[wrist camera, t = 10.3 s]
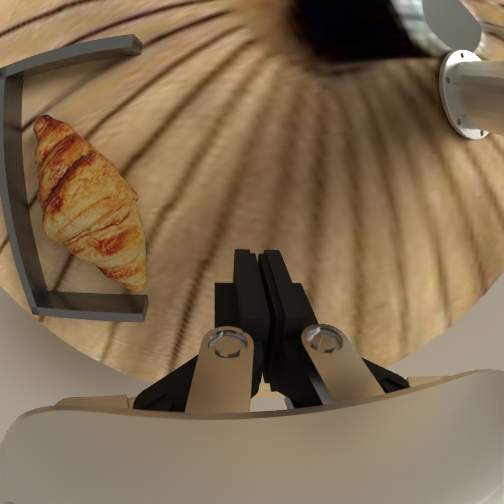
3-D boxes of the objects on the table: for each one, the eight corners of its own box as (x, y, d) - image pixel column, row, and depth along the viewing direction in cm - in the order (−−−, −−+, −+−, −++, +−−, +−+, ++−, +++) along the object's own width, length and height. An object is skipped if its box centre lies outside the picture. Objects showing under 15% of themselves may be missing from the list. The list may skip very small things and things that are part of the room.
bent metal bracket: (142, 43, 20) (133, 34, 17) (148, 303, 32) (143, 322, 29) (16, 70, 18) (-2, 69, 14) (43, 298, 30) (32, 314, 27)
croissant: (168, 255, 34) (193, 273, 28) (104, 305, 31) (114, 337, 24) (80, 102, 24) (82, 77, 17) (5, 154, 20) (-16, 145, 14)
